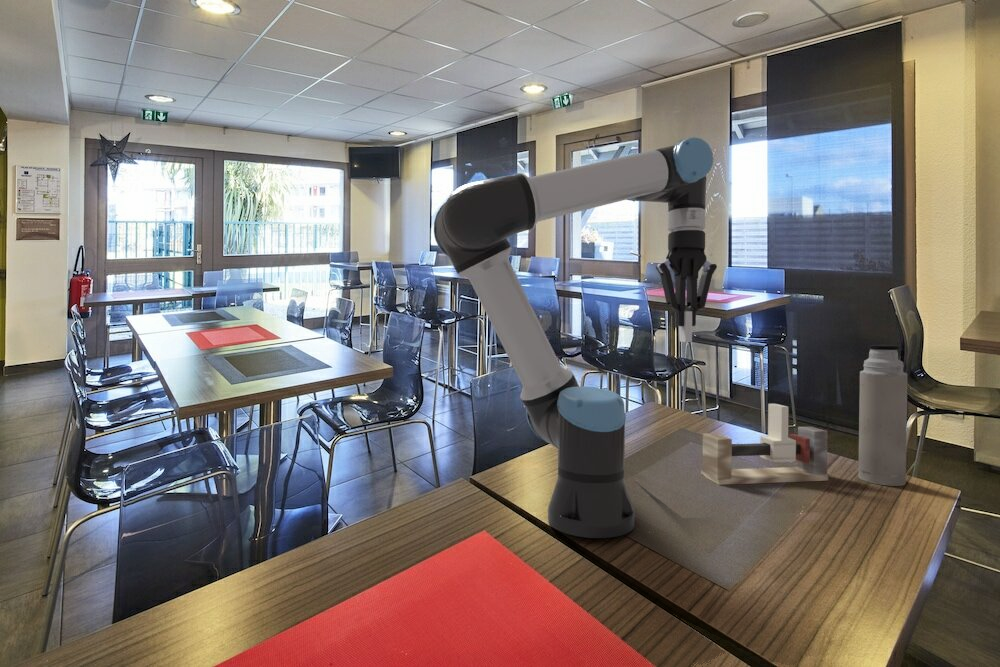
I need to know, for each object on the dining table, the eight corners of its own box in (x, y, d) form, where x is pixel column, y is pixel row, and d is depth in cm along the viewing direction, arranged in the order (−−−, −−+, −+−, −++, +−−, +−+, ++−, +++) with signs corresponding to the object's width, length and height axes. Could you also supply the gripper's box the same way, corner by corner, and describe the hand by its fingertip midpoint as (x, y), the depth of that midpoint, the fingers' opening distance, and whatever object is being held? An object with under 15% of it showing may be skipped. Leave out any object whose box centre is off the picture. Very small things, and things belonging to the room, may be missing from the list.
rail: (718, 484, 107) (719, 435, 107) (701, 474, 114) (701, 428, 114) (830, 480, 110) (831, 432, 110) (806, 471, 117) (807, 425, 117)
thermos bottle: (850, 474, 115) (852, 343, 114) (890, 475, 114) (892, 344, 113) (872, 485, 107) (874, 345, 106) (915, 486, 106) (917, 345, 106)
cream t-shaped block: (773, 462, 110) (773, 406, 110) (760, 456, 114) (760, 403, 114) (795, 461, 111) (796, 406, 110) (781, 456, 115) (782, 403, 115)
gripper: (665, 227, 110) (664, 342, 110) (724, 229, 111) (723, 342, 112) (650, 233, 117) (649, 341, 118) (706, 235, 119) (705, 341, 119)
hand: (685, 341), depth 115 cm, fingers closed
